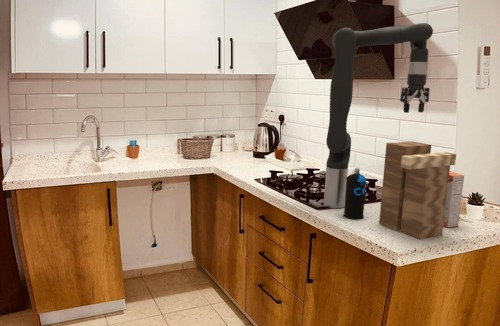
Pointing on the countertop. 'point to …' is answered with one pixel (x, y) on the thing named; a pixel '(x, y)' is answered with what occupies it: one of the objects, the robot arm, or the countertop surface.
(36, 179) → the countertop surface
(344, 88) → the robot arm
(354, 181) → the aerosol can
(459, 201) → the cracker box
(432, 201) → the brown stepped wooden block
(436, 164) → the maple bar
